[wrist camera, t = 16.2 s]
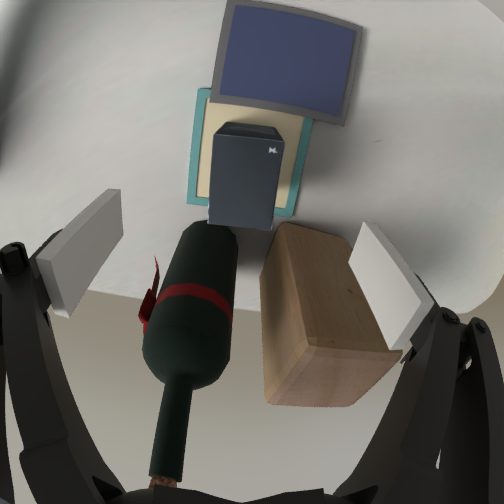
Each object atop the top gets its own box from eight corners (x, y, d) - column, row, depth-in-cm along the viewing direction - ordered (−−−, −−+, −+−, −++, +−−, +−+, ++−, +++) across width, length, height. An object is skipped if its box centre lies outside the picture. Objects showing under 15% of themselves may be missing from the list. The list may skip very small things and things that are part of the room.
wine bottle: (162, 216, 34) (50, 452, 9) (240, 222, 35) (226, 497, 9) (165, 266, 38) (97, 479, 13) (236, 272, 39) (224, 505, 13)
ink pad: (210, 102, 27) (208, 102, 26) (228, 1, 20) (227, -3, 19) (341, 125, 28) (344, 126, 27) (359, 28, 21) (363, 26, 20)
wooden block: (348, 236, 36) (410, 354, 19) (319, 292, 41) (351, 410, 24) (279, 217, 34) (306, 345, 17) (257, 278, 39) (261, 407, 23)
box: (224, 120, 28) (212, 132, 19) (276, 126, 28) (288, 140, 19) (218, 186, 32) (205, 226, 23) (266, 191, 32) (273, 232, 23)
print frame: (187, 202, 33) (186, 203, 33) (198, 88, 26) (198, 88, 25) (290, 216, 34) (291, 217, 34) (315, 106, 27) (316, 106, 27)
